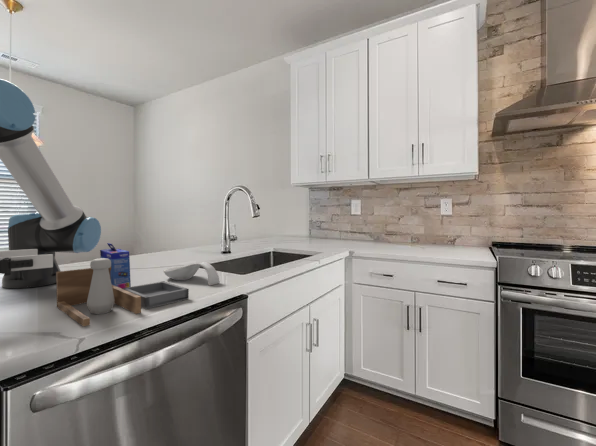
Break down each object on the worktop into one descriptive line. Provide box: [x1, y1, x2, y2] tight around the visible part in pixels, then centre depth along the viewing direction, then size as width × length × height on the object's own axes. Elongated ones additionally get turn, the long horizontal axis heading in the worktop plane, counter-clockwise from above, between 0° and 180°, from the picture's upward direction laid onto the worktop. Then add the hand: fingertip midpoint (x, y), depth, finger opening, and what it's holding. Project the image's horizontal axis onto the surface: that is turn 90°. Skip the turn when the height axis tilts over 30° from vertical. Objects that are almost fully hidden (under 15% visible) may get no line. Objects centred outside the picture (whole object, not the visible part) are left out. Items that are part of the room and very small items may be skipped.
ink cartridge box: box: [99, 242, 132, 289], centre depth 97 cm, size 10×6×14 cm, turn 51°
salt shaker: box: [86, 257, 115, 315], centre depth 76 cm, size 6×6×13 cm
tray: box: [122, 281, 190, 310], centre depth 87 cm, size 14×12×3 cm
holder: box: [55, 267, 142, 327], centre depth 77 cm, size 20×12×9 cm, turn 51°
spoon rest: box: [163, 261, 221, 286], centre depth 111 cm, size 24×12×7 cm, turn 59°
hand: (44, 257), depth 69 cm, fingers open, 13 cm apart
